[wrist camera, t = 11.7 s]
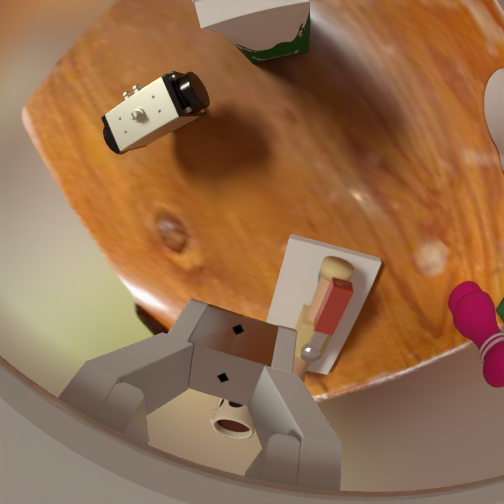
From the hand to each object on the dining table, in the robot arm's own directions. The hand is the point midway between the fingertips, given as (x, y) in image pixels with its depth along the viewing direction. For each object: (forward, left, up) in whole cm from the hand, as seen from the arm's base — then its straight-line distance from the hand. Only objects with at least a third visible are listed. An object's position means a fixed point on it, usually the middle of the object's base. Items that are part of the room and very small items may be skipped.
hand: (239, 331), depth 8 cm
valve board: (-8, +21, -31) cm, 38 cm away
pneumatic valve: (+16, -4, -31) cm, 35 cm away
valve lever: (-8, +16, -23) cm, 29 cm away
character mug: (-1, +39, -31) cm, 50 cm away
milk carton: (+6, -16, -31) cm, 36 cm away
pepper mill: (-32, +12, -31) cm, 46 cm away
